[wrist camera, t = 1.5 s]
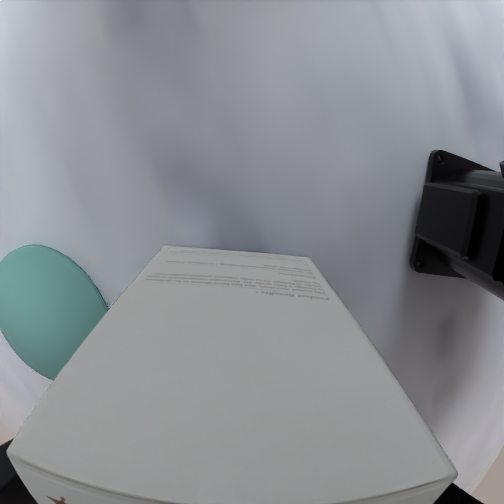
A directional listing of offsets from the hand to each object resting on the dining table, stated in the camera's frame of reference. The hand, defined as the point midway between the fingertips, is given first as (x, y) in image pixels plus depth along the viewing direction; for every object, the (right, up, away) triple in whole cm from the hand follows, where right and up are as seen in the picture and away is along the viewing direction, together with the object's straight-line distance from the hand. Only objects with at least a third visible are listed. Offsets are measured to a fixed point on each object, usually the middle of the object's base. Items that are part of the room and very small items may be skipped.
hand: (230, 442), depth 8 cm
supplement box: (0, +2, +8) cm, 9 cm away
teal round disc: (-12, +2, +8) cm, 14 cm away
